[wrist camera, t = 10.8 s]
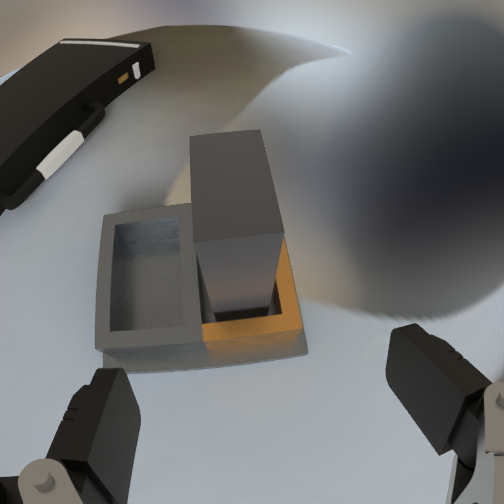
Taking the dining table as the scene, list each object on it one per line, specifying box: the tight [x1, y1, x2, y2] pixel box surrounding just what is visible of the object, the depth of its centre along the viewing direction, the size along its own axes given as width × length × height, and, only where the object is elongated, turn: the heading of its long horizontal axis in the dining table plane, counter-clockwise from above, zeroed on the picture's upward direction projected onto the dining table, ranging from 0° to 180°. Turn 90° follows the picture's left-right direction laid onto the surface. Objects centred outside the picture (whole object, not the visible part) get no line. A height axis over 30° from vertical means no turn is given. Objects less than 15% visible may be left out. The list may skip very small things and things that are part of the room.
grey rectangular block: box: [190, 130, 284, 321], centre depth 21 cm, size 7×4×12 cm, turn 8°
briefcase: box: [0, 39, 155, 216], centre depth 34 cm, size 45×6×30 cm
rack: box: [95, 203, 308, 374], centre depth 25 cm, size 14×16×4 cm
